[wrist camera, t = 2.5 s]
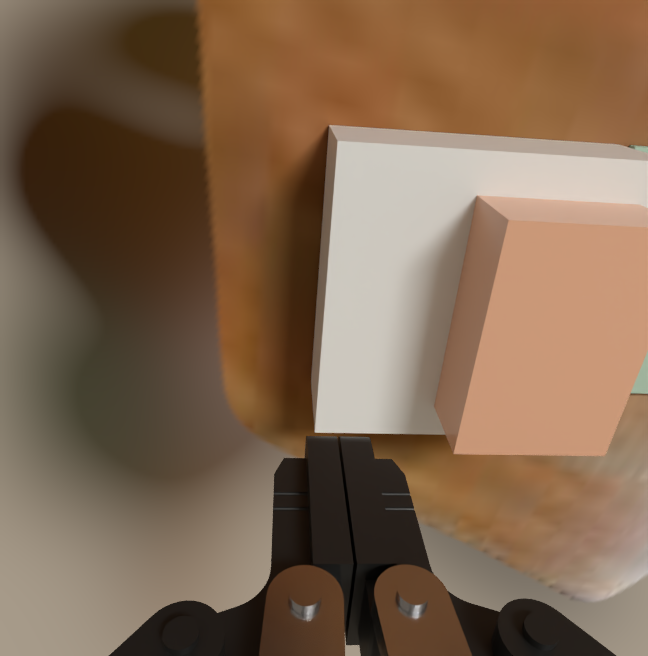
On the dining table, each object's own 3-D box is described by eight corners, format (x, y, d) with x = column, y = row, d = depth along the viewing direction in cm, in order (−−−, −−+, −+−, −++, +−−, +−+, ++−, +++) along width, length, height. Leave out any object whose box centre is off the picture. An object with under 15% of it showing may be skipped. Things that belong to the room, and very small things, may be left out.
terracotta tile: (477, 195, 18) (508, 220, 16) (640, 204, 19) (697, 229, 16) (434, 406, 23) (453, 454, 20) (568, 409, 23) (604, 456, 21)
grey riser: (329, 125, 21) (337, 140, 17) (618, 144, 22) (681, 163, 18) (311, 381, 26) (314, 432, 23) (542, 386, 28) (580, 436, 24)
